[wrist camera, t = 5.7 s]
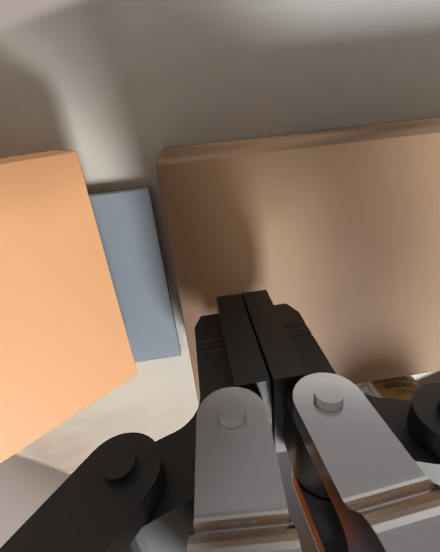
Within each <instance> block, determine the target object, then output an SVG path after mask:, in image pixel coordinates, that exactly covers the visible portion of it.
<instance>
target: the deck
mask: <svg viewBox="0 0 440 552" xmlns="http://www.w3.org/2000/svg"><path fill="white" fill-rule="evenodd" d="M156 168H157V173H158V179H159V184H160V190H161V196H162V201H163V207H164V212H165V218H166V224H167V229H168V235H169V240H170V246H171V252H172V257H173V263H174V268H175V274H176V280H177V285H178V291H179V297H180V302H181V308H182V313H183V319H184V325H185V330H186V336H187V341H188V347H189V353H190V358H191V364H192V369H193V375H194V381H195V386H196V392H197V397H198V403H200V389H199V377H198V364H197V352H196V340H195V326H196V324H197V322H198V320H199V318H200V317H201V316H205V315H211V314H218V312H217V304H216V297H218V296H225V295H232V294H239V293H240V294H241V293H245V292H252V291H259V290H267V292H268V294H269V296H270V298H271V300H272V302H273V304H274V305H278V304H285V303H286V304H288V305H289V306H291V307H292V308H294V309H295V310H297V311H298V312H299V313H300V315H301V316H302V318H303V320H304V321H305V323H306V326H308V328H309V330H310V331H311V333H312V336H314V338H315V340H316V341H317V343H318V345H319V346H320V348H321V350H322V351H323V353H324V355H325V356H326V358H327V360H328V361H329V363H330V365H331V366H332V368H333V370H334V371H335V373H336V374H337V375H339V376H342V377H344V378H346V379H348V380H350V381H351V382H353V383H354V384H358V383H364V382H370V381H377V380H383V379H389V378H395V377H402V376H408V375H414V374H420V373H427V372H433V371H439V370H440V117H435V118H426V119H417V120H408V121H400V122H391V123H382V124H374V125H365V126H356V127H347V128H339V129H330V130H321V131H313V132H304V133H295V134H286V135H278V136H269V137H260V138H251V139H243V140H234V141H225V142H217V143H208V144H199V145H190V146H182V147H173V148H164V149H162V152H161V154H160V157H159V159H158V162H157V165H156Z"/></svg>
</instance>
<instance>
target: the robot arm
mask: <svg viewBox="0 0 440 552" xmlns="http://www.w3.org/2000/svg"><path fill="white" fill-rule="evenodd" d="M216 304H217V312H218V314H211V315H205V316H201V317H200V318H199V320H198V322H197V324H196V326H195V340H196V352H197V364H198V377H199V389H200V403H199V407H198V409H197V412H196V413H195V415H194V416H193V418H192V419H191V420H190V421H189V422H188V423H187V424H186V425H185V426H184V427H182V428H181V429H180V430H178V431H176V432H174V433H172V434H170V435H168V436H166V437H164V438H162V439H160V440H158V441H156V442H154V440H153V439H151V438H150V437H149V436H147V435H144V434H141V433H124V434H120V435H117V436H115V437H112V438H111V439H109V440H107V441H105V442H104V443H103V444H101V445H100V446H99V447H98V448H97V449H96V450H94V451H93V452H92V453H91V455H90V456H89V457H88V458H87V459H86V460H85V461H84V462H83V463H82V464H81V465H80V466H79V467H78V468H77V469H76V470H75V471H74V472H73V473H72V474H71V475H70V476H69V477H68V478H67V480H66V481H65V482H64V483H63V484H62V485H61V486H60V487H59V488H58V489H57V490H56V491H55V492H54V493H53V494H52V495H51V496H50V497H49V498H48V499H47V501H45V503H43V505H42V506H41V507H40V508H39V509H38V510H37V511H36V512H35V513H34V514H33V515H32V516H31V517H30V518H29V519H28V520H27V521H26V522H25V524H23V525H22V526H21V527H20V528H19V530H18V531H17V532H16V533H15V534H14V535H13V536H12V537H11V538H10V539H9V540H8V541H7V542H6V543H5V544H4V545H3V546H2V547H1V548H0V552H302V550H301V546H300V543H299V538H298V535H297V531H296V528H295V526H294V524H293V523H292V522H291V520H290V517H289V513H288V509H287V504H286V499H285V495H284V490H283V485H282V480H281V475H280V471H279V466H278V460H277V456H276V453H278V452H284V451H287V452H288V455H289V458H290V461H291V464H292V481H293V486H294V489H295V491H296V494H297V497H298V499H299V502H300V504H301V507H302V509H303V512H304V515H305V517H306V520H307V522H308V525H309V527H310V530H311V533H312V535H313V538H314V540H315V543H316V545H317V548H318V551H319V552H440V383H430V384H425V385H423V386H420V387H419V388H418V389H416V391H415V392H414V394H413V396H412V400H411V401H408V400H398V399H389V398H380V397H373V396H369V395H366V394H363V393H362V391H361V390H360V389H359V388H358V387H357V386H356V385H355V384H354V383H353V382H351V381H350V380H348V379H346V378H344V377H342V376H339V375H337V374H336V373H335V371H334V370H333V368H332V366H331V365H330V363H329V361H328V360H327V358H326V356H325V355H324V353H323V351H322V350H321V348H320V346H319V345H318V343H317V341H316V340H315V338H314V336H312V333H311V331H310V330H309V328H308V326H306V323H305V321H304V320H303V318H302V316H301V315H300V313H299V312H298V311H297V310H295V309H294V308H292V307H291V306H289V305H288V304H286V303H285V304H278V305H274V304H273V302H272V300H271V298H270V296H269V294H268V292H267V290H259V291H252V292H245V293H241V294H240V293H239V294H232V295H225V296H218V297H216Z"/></svg>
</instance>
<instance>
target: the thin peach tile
mask: <svg viewBox="0 0 440 552" xmlns="http://www.w3.org/2000/svg"><path fill="white" fill-rule="evenodd" d="M136 374H137V370H136V366H135V363H134V359H133V355H132V352H131V348H130V345H129V341H128V337H127V334H126V330H125V326H124V323H123V319H122V315H121V312H120V308H119V304H118V301H117V297H116V293H115V290H114V286H113V283H112V279H111V275H110V272H109V268H108V264H107V261H106V257H105V253H104V250H103V246H102V242H101V239H100V235H99V232H98V228H97V224H96V221H95V217H94V213H93V210H92V206H91V202H90V199H89V195H88V191H87V188H86V184H85V180H84V177H83V173H82V170H81V166H80V162H79V159H78V155H77V152H71V151H55V150H52V151H45V152H39V153H32V154H26V155H19V156H12V157H6V158H0V463H1V462H3V461H4V460H6V459H7V458H9V457H10V456H12V455H14V454H15V453H17V452H18V451H20V450H21V449H23V448H24V447H26V446H27V445H29V444H30V443H32V442H34V441H35V440H37V439H38V438H40V437H41V436H43V435H44V434H46V433H47V432H49V431H50V430H52V429H53V428H55V427H57V426H58V425H60V424H61V423H63V422H64V421H66V420H67V419H69V418H70V417H72V416H73V415H75V414H77V413H78V412H80V411H81V410H83V409H84V408H86V407H87V406H89V405H90V404H92V403H93V402H95V401H97V400H98V399H100V398H101V397H103V396H104V395H106V394H107V393H109V392H110V391H112V390H113V389H115V388H116V387H118V386H120V385H121V384H123V383H124V382H126V381H127V380H129V379H130V378H132V377H133V376H135V375H136Z"/></svg>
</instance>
